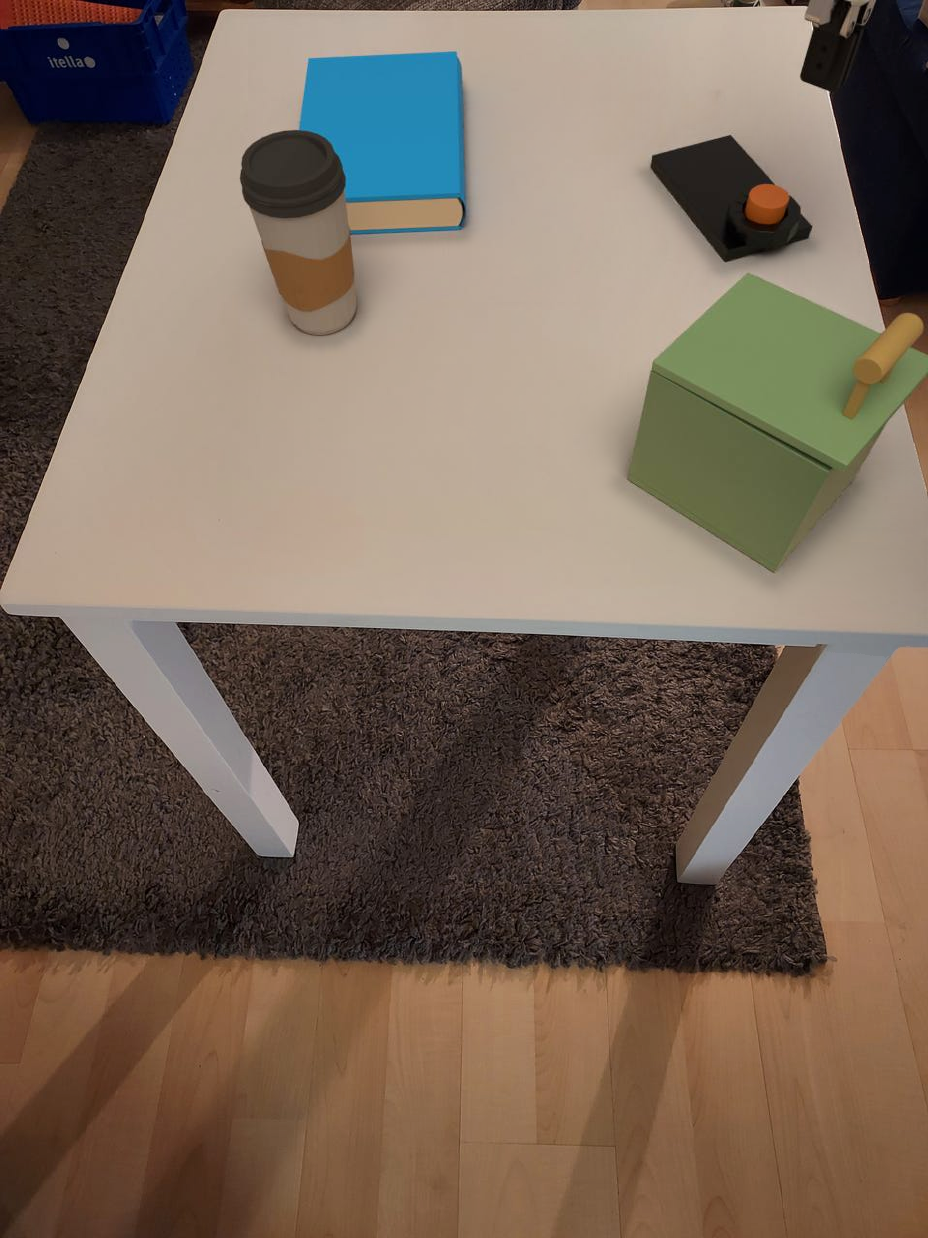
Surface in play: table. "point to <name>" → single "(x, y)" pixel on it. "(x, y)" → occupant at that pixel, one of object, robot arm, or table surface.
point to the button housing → (725, 197)
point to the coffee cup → (303, 226)
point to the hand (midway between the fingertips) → (822, 81)
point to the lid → (798, 368)
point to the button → (766, 204)
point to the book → (393, 137)
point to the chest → (732, 473)
